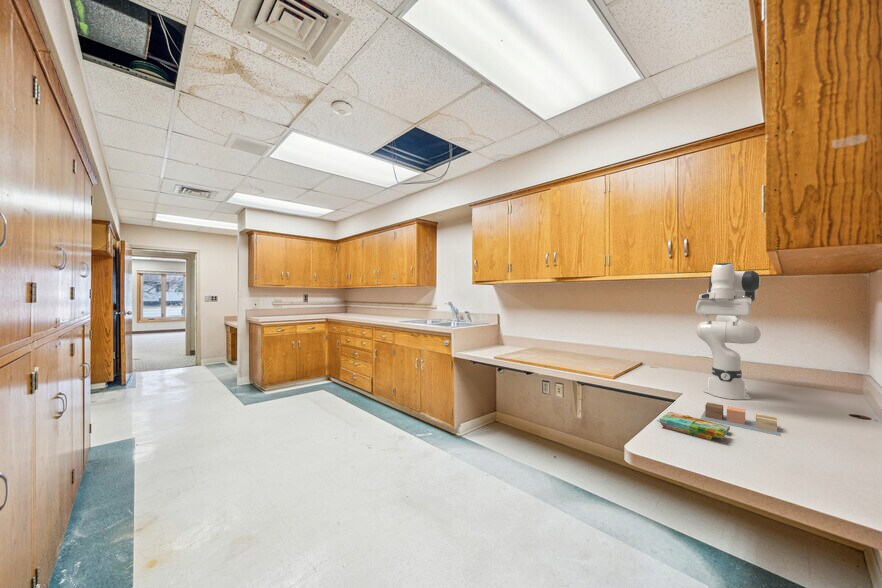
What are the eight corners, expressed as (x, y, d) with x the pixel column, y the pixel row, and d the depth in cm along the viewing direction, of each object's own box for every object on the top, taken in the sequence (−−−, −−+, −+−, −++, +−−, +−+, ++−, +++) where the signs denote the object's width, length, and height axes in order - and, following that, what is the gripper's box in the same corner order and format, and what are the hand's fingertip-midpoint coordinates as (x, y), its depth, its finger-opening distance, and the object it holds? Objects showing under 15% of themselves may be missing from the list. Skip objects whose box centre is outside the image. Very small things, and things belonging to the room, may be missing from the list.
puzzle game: (668, 409, 144) (729, 423, 129) (668, 420, 144) (729, 436, 129) (659, 416, 136) (723, 432, 121) (659, 428, 136) (723, 445, 121)
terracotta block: (727, 417, 144) (727, 405, 144) (745, 421, 140) (745, 409, 140) (726, 421, 140) (726, 409, 140) (744, 424, 136) (744, 412, 136)
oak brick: (756, 423, 138) (756, 413, 138) (776, 427, 133) (776, 417, 133) (755, 427, 133) (755, 417, 133) (776, 431, 129) (777, 421, 129)
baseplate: (704, 413, 151) (704, 411, 151) (780, 429, 135) (780, 426, 135) (699, 421, 142) (699, 419, 142) (780, 439, 125) (780, 436, 125)
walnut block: (707, 413, 149) (707, 402, 148) (723, 416, 145) (723, 405, 145) (705, 416, 145) (705, 405, 145) (721, 420, 141) (722, 408, 141)
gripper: (753, 296, 155) (752, 326, 154) (698, 296, 171) (697, 324, 170) (750, 295, 151) (750, 326, 150) (694, 295, 167) (694, 323, 166)
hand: (722, 325), depth 160 cm, fingers open, 8 cm apart
